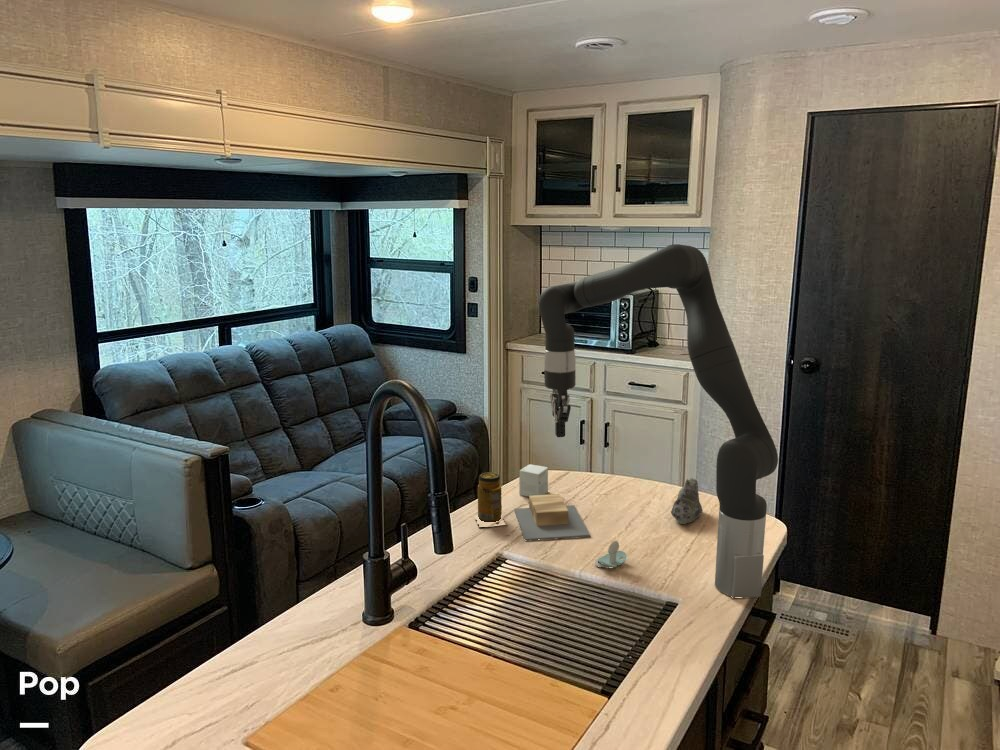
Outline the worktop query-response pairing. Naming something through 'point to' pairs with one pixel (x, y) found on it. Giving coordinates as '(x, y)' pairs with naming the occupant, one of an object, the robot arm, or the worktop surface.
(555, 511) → the block
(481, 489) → the condiment
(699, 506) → the mineral rock
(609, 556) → the pacifier
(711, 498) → the worktop surface
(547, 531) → the mat
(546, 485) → the product box
